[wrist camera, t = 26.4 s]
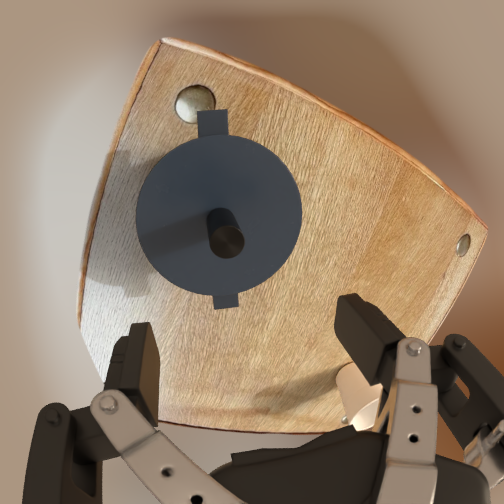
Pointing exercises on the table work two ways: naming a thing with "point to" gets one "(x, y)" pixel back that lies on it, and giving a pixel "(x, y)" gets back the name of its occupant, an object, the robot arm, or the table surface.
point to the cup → (358, 397)
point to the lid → (218, 215)
